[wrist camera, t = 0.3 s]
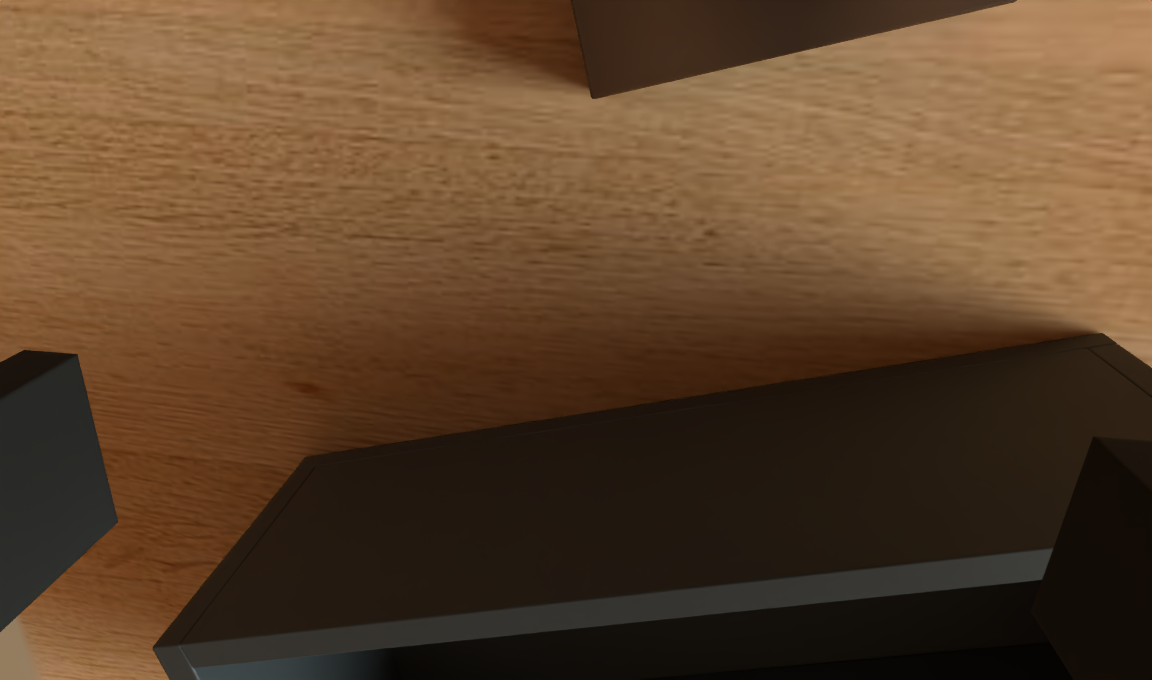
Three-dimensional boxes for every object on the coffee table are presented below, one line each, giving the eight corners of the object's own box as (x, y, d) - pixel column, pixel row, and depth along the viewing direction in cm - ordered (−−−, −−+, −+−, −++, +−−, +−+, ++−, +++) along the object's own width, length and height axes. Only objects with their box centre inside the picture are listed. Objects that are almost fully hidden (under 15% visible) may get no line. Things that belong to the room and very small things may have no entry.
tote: (405, 699, 31) (315, 942, 23) (304, 456, 26) (150, 647, 18) (1093, 636, 26) (1287, 911, 18) (1102, 332, 22) (1361, 513, 14)
